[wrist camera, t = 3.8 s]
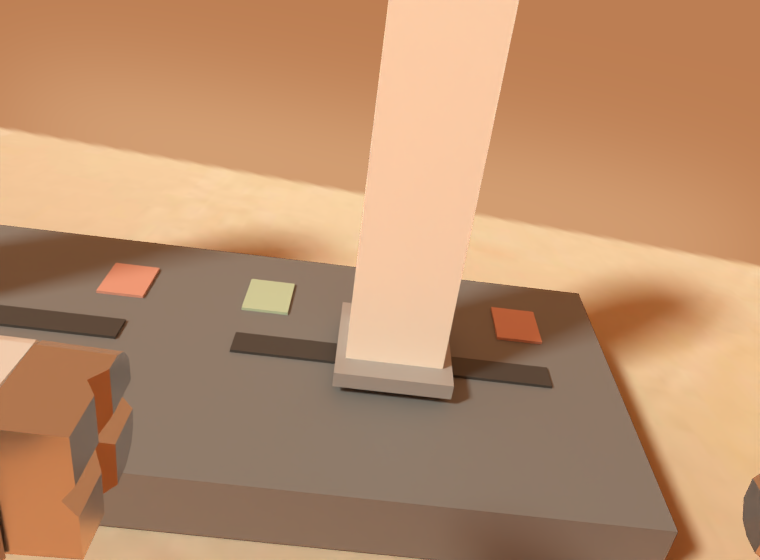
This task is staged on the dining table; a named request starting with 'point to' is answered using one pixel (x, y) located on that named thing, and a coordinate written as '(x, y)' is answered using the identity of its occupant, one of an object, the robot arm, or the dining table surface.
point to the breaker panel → (343, 409)
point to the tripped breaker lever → (422, 191)
